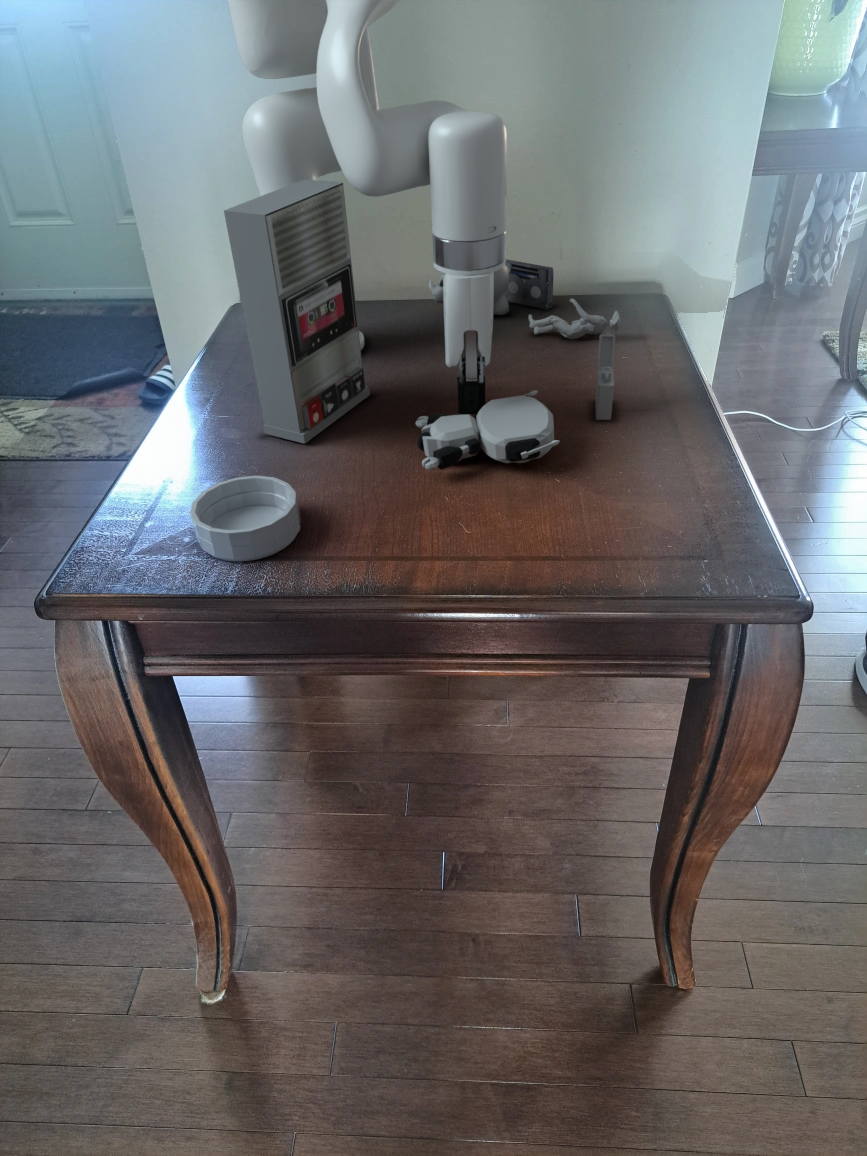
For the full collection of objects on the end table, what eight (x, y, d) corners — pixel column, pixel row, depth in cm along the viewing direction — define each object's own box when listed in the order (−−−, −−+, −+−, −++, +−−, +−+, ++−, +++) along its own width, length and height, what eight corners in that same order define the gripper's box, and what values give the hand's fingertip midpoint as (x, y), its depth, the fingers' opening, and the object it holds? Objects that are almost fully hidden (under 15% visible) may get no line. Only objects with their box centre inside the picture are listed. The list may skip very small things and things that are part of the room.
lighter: (611, 419, 97) (617, 354, 92) (595, 419, 97) (601, 354, 92) (609, 393, 102) (615, 330, 97) (595, 392, 102) (600, 329, 97)
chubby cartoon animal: (427, 308, 128) (424, 252, 123) (504, 301, 129) (504, 245, 124) (433, 325, 122) (430, 267, 117) (513, 318, 123) (514, 259, 118)
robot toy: (424, 494, 87) (565, 472, 87) (419, 457, 84) (564, 434, 84) (416, 439, 97) (543, 419, 97) (410, 404, 94) (541, 383, 94)
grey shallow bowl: (177, 539, 81) (169, 509, 79) (254, 494, 87) (248, 465, 85) (245, 576, 76) (237, 545, 74) (322, 525, 82) (317, 495, 80)
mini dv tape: (552, 306, 126) (553, 266, 122) (546, 309, 125) (548, 269, 121) (507, 297, 130) (507, 258, 127) (502, 300, 129) (502, 260, 126)
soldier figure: (538, 331, 121) (620, 307, 117) (543, 362, 120) (626, 339, 116) (524, 308, 114) (610, 282, 110) (529, 341, 113) (616, 315, 109)
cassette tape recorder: (307, 446, 95) (270, 216, 80) (265, 435, 97) (221, 210, 82) (371, 397, 104) (350, 182, 89) (332, 388, 107) (304, 178, 91)
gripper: (434, 230, 91) (440, 384, 103) (431, 275, 80) (438, 443, 91) (502, 227, 91) (501, 382, 103) (509, 272, 79) (506, 441, 91)
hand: (471, 410), depth 97 cm, fingers closed
